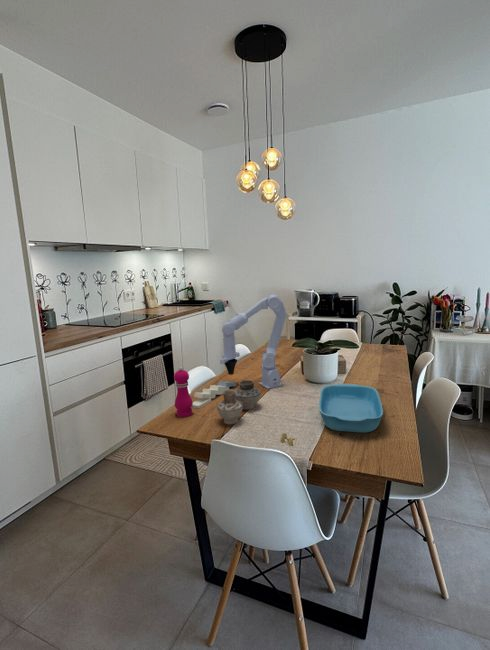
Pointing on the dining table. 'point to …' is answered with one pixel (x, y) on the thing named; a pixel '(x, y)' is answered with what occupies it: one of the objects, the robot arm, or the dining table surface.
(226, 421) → the pottery
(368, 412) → the casserole dish
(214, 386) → the ivory tile
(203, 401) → the ivory tile
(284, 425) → the dining table surface
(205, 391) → the tile
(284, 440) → the olive bow shape
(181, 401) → the pepper mill
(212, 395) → the ivory tile
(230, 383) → the slate tile
